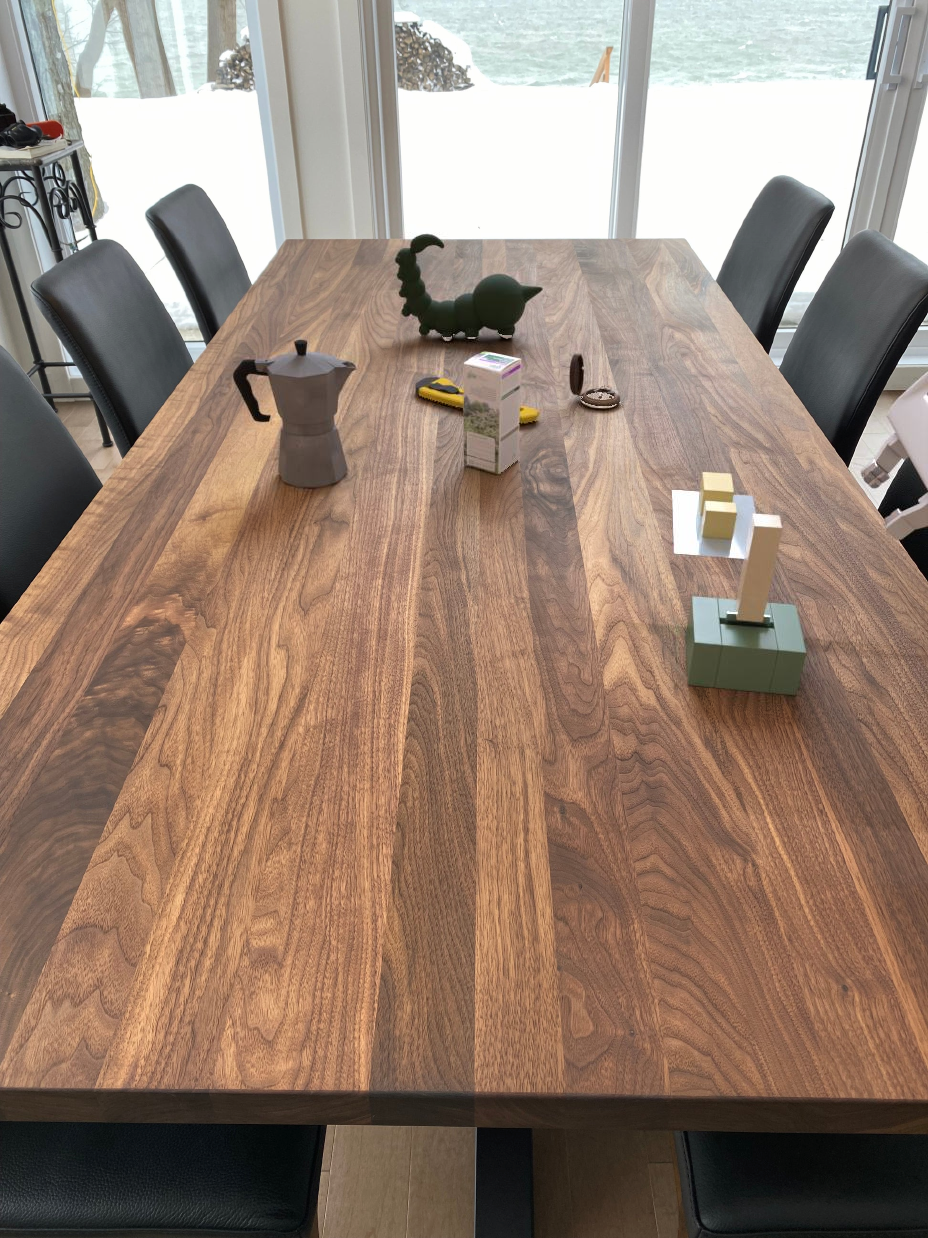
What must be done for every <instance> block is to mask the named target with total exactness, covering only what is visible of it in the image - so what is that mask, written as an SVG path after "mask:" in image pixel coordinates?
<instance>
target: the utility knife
mask: <svg viewBox="0 0 928 1238" xmlns="http://www.w3.org/2000/svg"><path fill="white" fill-rule="evenodd" d="M414 388H415V394H417V395H418V396H419V397H421V396H422V397H421V398H423V397H424V399H426V398H428V399H427V400H429V399H430V401H433V400H434V401H433V402H436V401H438V402H437V403H439V402H442V403H441V404H443V403H445V404H444V405H446V404H450V405H452V406H451V407H453V406H458V407H462V408H463V388H461V387H459V386H457V385H455V384H454V383H453V382H452V381H450V380H449V379H448V378H445V377H438V376H432V377H431V376H429V377H424V378H422V379H420V380H418V381H417V382H415V387H414ZM431 399H432V400H431ZM450 405H449V406H450ZM538 415H539V416H540V410H538V409H536V408H533V407H529V406H525V405H521V404H520V419H519V423H521V424H520V425H523V424H522V423H524V424H528V423H527V422H531V421H535V420H536V419H537V417H538ZM538 418H539V417H538ZM537 420H538V419H537ZM537 420H536V421H537ZM536 421H535V422H536ZM531 423H532V422H531Z"/></svg>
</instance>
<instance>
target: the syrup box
mask: <svg viewBox="0 0 928 1238" xmlns="http://www.w3.org/2000/svg"><path fill="white" fill-rule="evenodd" d="M462 364H463V365H462V372H463V375H462V380H463V383H462V387H463V388H462V389H463V409H462V411H463V414H462V415H463V417H462V419H463V465H464V466H466V467H470V468H473V469H477V470H480V469H481V470H480V471H483V470H484V471H483V472H486V473H487V472H488V473H490V474H494V475H500V474H502V473H504V472H505V471H506V470H507V468H508V467H509V466H510V467H512V466H513V465H514V464H516V463H517V462H518V461H519V459H520V424H519V419H520V405H521V392H522V391H521V390H522V388H521V387H522V358H518V357H514V356H510V355H505V354H500V353H495V352H490V351H481V352H480V353H477V354H475V355H474V356H472V357H470V358H469V359H467V360H466V361H464V362H463V363H462ZM517 460H518V461H517ZM516 461H517V462H516ZM515 462H516V463H515ZM513 463H514V464H513ZM512 464H513V465H512ZM511 465H512V466H511ZM510 467H509V468H510ZM509 468H508V469H509ZM505 469H506V470H505ZM504 470H505V471H504ZM501 472H502V473H501Z"/></svg>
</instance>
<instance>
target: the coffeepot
mask: <svg viewBox="0 0 928 1238" xmlns="http://www.w3.org/2000/svg"><path fill="white" fill-rule="evenodd" d="M293 344H294V348H295V351H296V352H291V353H283V354H278V355H277V356H275V357H274V358H272V359H271V358H256V359H255V358H253V359H251V358H245V359H243V360H241V362H240V363H239V364H238V365H237V366H236V368H234V369H235V370H234V371H233V373H232V377H233V378H232V379H233V383H234V384H235V386H236V388H237V390H238V391H239V393H240V395H241V397H242V400H243V401H244V403H245V405H246V408H247V409H248V411H249V414H250V416H251V417H252V419H253V421H254V422H256V423H269V422H270V420H271V417H272V415H271V414H266V413H265V414H264V413H262V412H261V411H260V405H259V401H258V400H257V397H255V395H254V392H253V388H252V384H251V382H250V380H249V378H248V375H256V376H263V377H268V381H269V384H270V388H271V392H272V396H273V400H274V403H275V406H276V411H277V414H278V416H279V417H280V419H281V423H282V427H281V429H280V436H279V450H278V467H277V473H278V474H279V476H280V478H281V480H282V481H283V482H284V483H285V484H287V485H289V486H291V487H296V488H302V489H317V488H324V487H328V486H331V485H334V484H336V483H339V482H340V481H341V480H343V478H345V476H346V474H347V473H348V472H349V468H348V464H347V461H346V457H345V453H344V449H343V445H342V440H341V438H340V437H341V436H340V432H339V429H338V427H337V425H336V423H335V421H336V420H335V415H336V414H337V413H338V409H339V408H338V407H339V395H340V393H341V391H342V390H343V388H344V386H345V384H346V382H347V380H348V378H349V377H350V376H351V374H352V372H354V371H356V370H357V366H356V365H355V364H354V362H350V361H349V360H346V359H339V358H336V357H335V356H334V355H333V354H332V353H325V352H316V351H308V341H307V340H306V339H302V338H301V339H296V340H294V341H293Z"/></svg>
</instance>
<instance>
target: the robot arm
mask: <svg viewBox="0 0 928 1238" xmlns="http://www.w3.org/2000/svg"><path fill="white" fill-rule="evenodd" d="M886 418H887V420H888V422H889V423H890V425H891V427H892V429H893V430H894V433H893V434H891V435H890V436H889V437H888V438H887V439H886V440H885V441H884V442H883V443H882V446H880V449H879V450H878V451H877V452H876V455H875V456H874V457H873V459H872V460H871V461H870V462H869V463H867V464H866V465H865V466H864V467H863V468H862V469H861V470H860V476H861V477H862V479H863V482H864V483H865V484H866V485H868V487H870V488H871V489H878V488H879V487H880V486H881V485H882V484H884V483H885V482H887V481H888V480H889V479H890V478H891V477H890V473H891V472H892V471H893V470H894V469H895V467H896V466H897V465H898V464H899V463H900V461H901V460H904V461H905V460H907V459H908V458H909V459H910V461H911V463H912V464H913V467H914V468H915V470H916V472H917V474H918V475H919V478H920V479H921V481H922V483H923V484H924V486H925V488H926V490H927V492H926V493H925V494H923V495H922V496H921V497H920V498H918V500H917V501H918V503H917V504H915V505H913V506H911V507H908V508H907V509H905V510H901V509H900V508H896V509H895V510H893V511H892V512H891V513H890V515H887V516H886V517H885V518H884V519H883V523H882V524H883V526H884V528H885V531H886V533H887V534H888V535H889V536H891V537H892V538H893V539H894V540H896V541H901V540H903V539H904V538H906V537H907V536H908V535H910V534H911V533H913V532H914V531H915V530H919V529H923V528H927V527H928V371H927V372H926V373H924V374H923V375H922V376H921V377H919V379H917V380H916V381H915V382H914V383H913V384H912V385H910V387H909V388H907V389H906V390H905V391H904V392H902V394H901V395H899V396H898V398H896V400H895V401H894V403H893V404H892V405H891V407H890V408H889V410H888V412H887V415H886Z"/></svg>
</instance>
